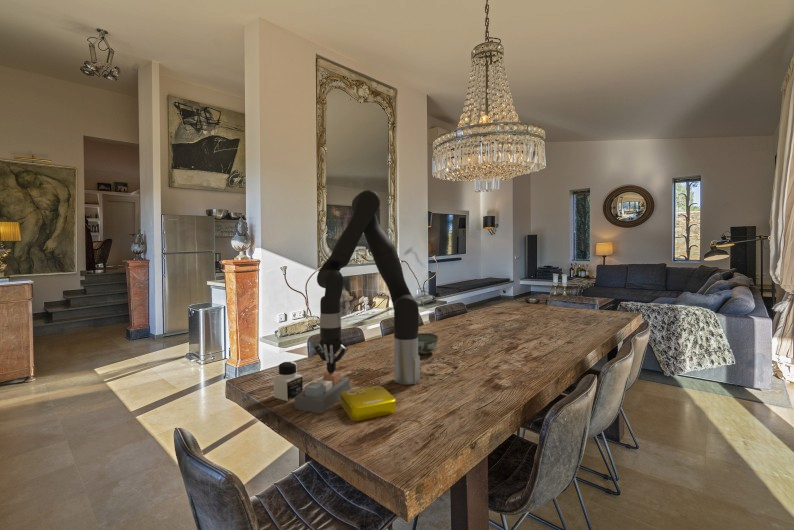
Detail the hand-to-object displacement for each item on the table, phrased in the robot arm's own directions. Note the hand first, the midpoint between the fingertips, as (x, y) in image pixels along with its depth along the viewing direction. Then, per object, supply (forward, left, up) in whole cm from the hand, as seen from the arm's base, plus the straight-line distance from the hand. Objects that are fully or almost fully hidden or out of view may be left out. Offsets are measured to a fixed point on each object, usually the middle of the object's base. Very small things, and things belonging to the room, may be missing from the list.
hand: (331, 372), depth 139 cm
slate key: (0, +12, -4) cm, 13 cm away
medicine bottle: (+13, +8, -8) cm, 17 cm away
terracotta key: (0, 0, -4) cm, 4 cm away
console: (0, +6, -7) cm, 10 cm away
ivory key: (0, +6, -5) cm, 8 cm away
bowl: (-19, -57, -8) cm, 61 cm away
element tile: (-18, +8, -8) cm, 21 cm away
